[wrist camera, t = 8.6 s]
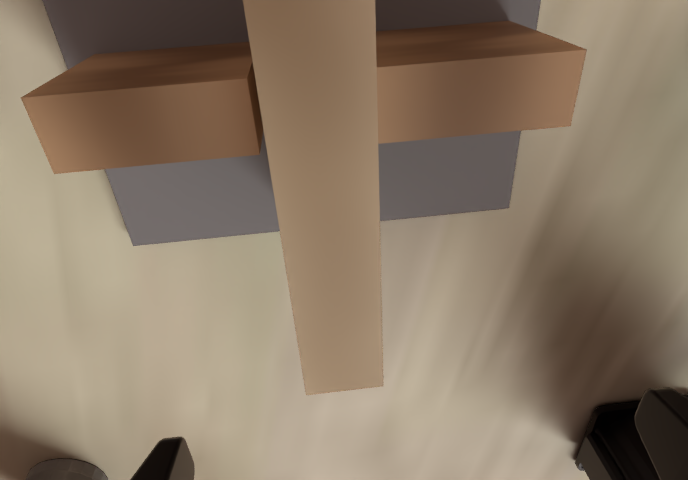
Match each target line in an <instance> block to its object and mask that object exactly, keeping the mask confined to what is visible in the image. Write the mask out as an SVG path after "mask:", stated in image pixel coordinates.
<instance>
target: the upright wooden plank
mask: <svg viewBox="0 0 688 480" xmlns="http://www.w3.org/2000/svg"><path fill="white" fill-rule="evenodd" d="M243 5H244V11H245V17H246V23H247V30H248V36H249V42H250V48H251V55H252V61H253V67H254V73H255V79H256V86H257V92H258V98H259V104H260V111H261V117H262V123H263V129H264V136H265V142H266V148H267V154H268V161H269V167H270V173H271V179H272V185H273V192H274V198H275V204H276V210H277V217H278V223H279V229H280V235H281V242H282V248H283V254H284V260H285V267H286V273H287V279H288V285H289V292H290V298H291V304H292V310H293V316H294V323H295V329H296V335H297V341H298V348H299V354H300V360H301V366H302V373H303V379H304V385H305V391H306V395H312V394H321V393H329V392H338V391H346V390H355V389H363V388H372V387H380V386H383V344H382V297H381V250H380V203H379V156H378V109H377V62H376V15H375V0H243Z"/></svg>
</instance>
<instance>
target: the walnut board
mask: <svg viewBox="0 0 688 480" xmlns="http://www.w3.org/2000/svg"><path fill="white" fill-rule="evenodd" d="M586 51H587V50H586V49H584V48H581V47H578V46H576V45H573V44H570V43H568V42H565V41H562V40H560V39H557V38H554V37H552V36H549V35H547V34H544V33H541V32H539V31H536V30H533V29H531V28H528V27H525V26H523V25H520V24H517V23H515V22H512V21H498V22H486V23H473V24H461V25H449V26H436V27H424V28H412V29H399V30H387V31H376V62H377V109H378V144H381V143H392V142H403V141H414V140H425V139H435V138H446V137H457V136H468V135H479V134H489V133H500V132H511V131H522V130H532V129H543V128H554V127H565V126H571V121H572V117H573V112H574V107H575V102H576V98H577V93H578V88H579V84H580V79H581V74H582V70H583V65H584V60H585V55H586ZM21 99H22V101H23V104H24V106H25V108H26V111H27V113H28V115H29V117H30V120H31V122H32V124H33V127H34V129H35V131H36V133H37V136H38V138H39V140H40V143H41V145H42V147H43V149H44V152H45V154H46V156H47V159H48V161H49V163H50V165H51V168H52V170H53V172H54V174H58V173H69V172H79V171H90V170H101V169H112V168H123V167H133V166H144V165H155V164H166V163H177V162H187V161H198V160H209V159H220V158H230V157H241V156H252V155H260V149H261V143H262V136H263V123H262V117H261V111H260V104H259V98H258V92H257V86H256V79H255V73H254V67H253V61H252V55H251V48H250V42H239V43H227V44H215V45H203V46H190V47H178V48H166V49H153V50H141V51H129V52H116V53H104V54H94V55H92V56H91V57H89V58H87V59H86V60H84V61H82V62H80V63H79V64H77V65H75V66H74V67H72V68H70V69H69V70H67V71H65V72H64V73H62V74H60V75H58V76H57V77H55V78H53V79H52V80H50V81H48V82H47V83H45V84H43V85H42V86H40V87H38V88H36V89H35V90H33V91H31V92H30V93H28V94H26V95H25V96H23V97H21Z"/></svg>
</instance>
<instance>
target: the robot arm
mask: <svg viewBox="0 0 688 480" xmlns="http://www.w3.org/2000/svg"><path fill="white" fill-rule="evenodd" d="M575 464H576V466H577V468H578V469H579V470H581V471H584V470H585V472H586V474H587V475H588V477H589V479H590V480H688V395H687V396H683V395H681V394H680V393H678V392H677V391H675V390H673V389H671V388H666V387H663V388H653V389H648V390H646V391H645V393H644V395H643V397H642V399H641V401H638V402H630V403H622V404H614V405H605V406H600V407H598V408H597V409H595V411H594V412H593V415H592V418H591V420H590V423H589V426H588V429H587V431H586V434H585V437H584V439H583V442H582V445H581V448H580V450H579V453H578V456H577V459H576V461H575ZM130 480H194V462H193V459H192V456H191V453H190V451H189V448H188V446H187V443H186V441H185V439H184V438H183V437H172V438H164V439H162V440H160V441H159V442H158V443H157V445H156V446H155V447H154V449H153V450H152V451H151V453H150V454H149V455H148V457H147V458H146V459H145V461H144V462H143V463H142V465H141V466H140V467H139V469H138V470H137V471H136V473H135V474H134V475H133V477H132V478H131V479H130Z"/></svg>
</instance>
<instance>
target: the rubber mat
mask: <svg viewBox="0 0 688 480" xmlns="http://www.w3.org/2000/svg"><path fill="white" fill-rule="evenodd" d="M42 1H43V3H44V6H45V9H46V11H47V14H48V17H49V20H50V22H51V25H52V28H53V30H54V33H55V36H56V39H57V41H58V44H59V47H60V49H61V52H62V55H63V57H64V60H65V63H66V66H67V68H68V70H69V69H70V68H72V67H74V66H75V65H77V64H79V63H80V62H82V61H84V60H86V59H87V58H89V57H91V56H92V55H94V54H104V53H116V52H129V51H141V50H153V49H166V48H178V47H190V46H203V45H215V44H227V43H239V42H249V36H248V30H247V23H246V17H245V11H244V5H243V0H42ZM540 2H541V0H375V15H376V31H387V30H399V29H412V28H424V27H436V26H449V25H461V24H473V23H486V22H498V21H512V22H515V23H517V24H520V25H523V26H525V27H528V28H531V29H533V30H536V28H537V22H538V15H539V9H540ZM520 132H521V131H511V132H500V133H489V134H479V135H468V136H457V137H446V138H435V139H425V140H414V141H403V142H392V143H381V144H378V156H379V203H380V221H386V220H396V219H406V218H416V217H426V216H436V215H446V214H456V213H466V212H476V211H486V210H496V209H505V208H509V204H510V197H511V191H512V184H513V178H514V171H515V165H516V158H517V152H518V145H519V139H520ZM105 171H106V174H107V176H108V179H109V182H110V184H111V187H112V190H113V193H114V195H115V198H116V201H117V203H118V206H119V209H120V211H121V214H122V217H123V220H124V222H125V225H126V228H127V230H128V233H129V236H130V238H131V241H132V244H133V246H138V245H148V244H158V243H168V242H177V241H187V240H197V239H207V238H217V237H227V236H237V235H247V234H257V233H267V232H277V231H280V229H279V223H278V217H277V210H276V204H275V198H274V192H273V185H272V179H271V173H270V167H269V161H268V154H267V148H266V142H265V136H264V129H263V136H262V143H261V149H260V155H252V156H241V157H230V158H220V159H209V160H198V161H187V162H177V163H166V164H155V165H144V166H133V167H123V168H112V169H105Z"/></svg>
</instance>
